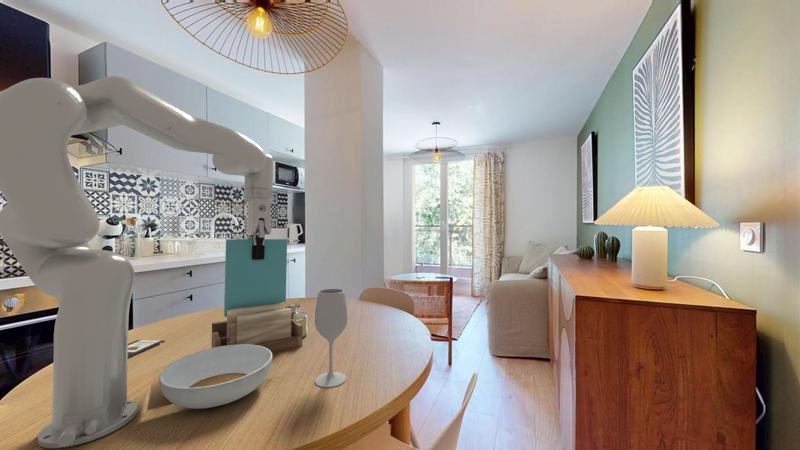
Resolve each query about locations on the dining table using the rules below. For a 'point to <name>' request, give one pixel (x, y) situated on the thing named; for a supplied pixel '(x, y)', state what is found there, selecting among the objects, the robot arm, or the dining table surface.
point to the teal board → (254, 274)
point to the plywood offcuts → (258, 324)
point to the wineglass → (330, 329)
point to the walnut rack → (276, 345)
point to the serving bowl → (212, 364)
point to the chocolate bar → (141, 346)
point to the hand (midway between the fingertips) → (257, 258)
